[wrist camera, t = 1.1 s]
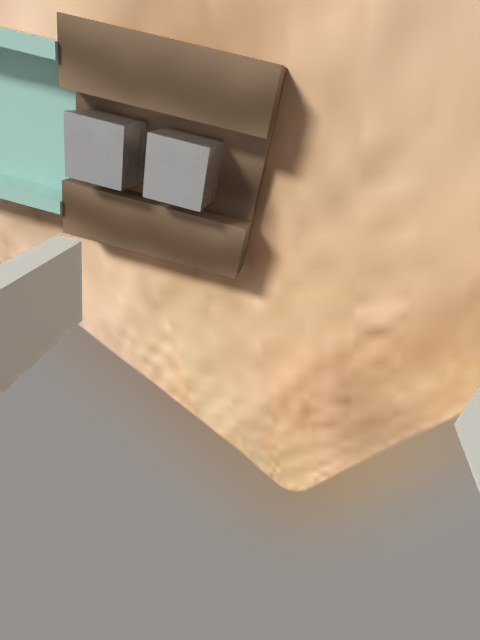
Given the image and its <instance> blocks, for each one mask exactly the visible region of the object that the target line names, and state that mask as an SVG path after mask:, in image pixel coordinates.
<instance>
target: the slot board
mask: <svg viewBox="0 0 480 640" xmlns="http://www.w3.org/2000/svg"><path fill="white" fill-rule="evenodd" d="M57 34H58V69H59V87H60V88H64V89H68V90H72V91H76V110H82V109H99V110H103V111H107V112H111V113H115V114H119V115H123V116H127V117H131V118H135V119H139V120H143V121H147V122H149V132H150V131H154V130H159V129H164V128H169V127H171V128H175V129H179V130H183V131H187V132H191V133H194V134H198V135H202V136H206V137H210V138H214V139H218V140H222V141H225V143H224V149H223V155H222V161H221V167H220V173H219V179H218V184H217V190H216V196H215V199H214V200H213V201H212V202H211V203H210V204H209V205H207V206H206V207H205V208H204V209H203V210H202V211H201V212H198V211H194V210H190V209H186V208H183V207H179V206H175V205H171V204H168V203H164V202H160V201H156V200H152V199H149V198H145V197H143V184H144V181H142V182H140V183H138V184H136V185H133V186H131V187H129V188H127V189H125V190H123V191H118V190H115V189H111V188H107V187H103V186H100V185H96V184H92V183H88V182H84V181H81V180H77V179H73V178H68V179H64V180H62V210H63V232H64V233H67V234H71V235H75V236H78V237H82V238H86V239H89V240H93V241H97V242H100V243H104V244H107V245H111V246H115V247H118V248H122V249H126V250H129V251H133V252H137V253H140V254H144V255H148V256H151V257H155V258H159V259H162V260H166V261H169V262H173V263H177V264H180V265H184V266H188V267H191V268H195V269H199V270H202V271H206V272H210V273H213V274H217V275H220V276H224V277H228V278H231V279H236V277H237V276H238V274H239V272H240V270H241V268H242V266H243V262H244V258H245V253H246V249H247V244H248V240H249V235H250V231H251V226H252V222H253V218H254V213H255V209H256V204H257V200H258V195H259V191H260V187H261V182H262V178H263V173H264V169H265V164H266V160H267V155H268V151H269V147H270V142H271V138H272V133H273V129H274V124H275V120H276V115H277V111H278V107H279V102H280V98H281V93H282V89H283V84H284V80H285V76H286V71H287V68H286V67H284V66H283V65H279V64H275V63H271V62H266V61H262V60H258V59H254V58H250V57H245V56H241V55H237V54H233V53H229V52H224V51H220V50H216V49H212V48H207V47H203V46H199V45H195V44H191V43H186V42H182V41H178V40H174V39H169V38H165V37H161V36H157V35H153V34H148V33H144V32H140V31H136V30H132V29H127V28H123V27H119V26H115V25H110V24H106V23H102V22H98V21H94V20H89V19H85V18H81V17H77V16H72V15H68V14H64V13H60V12H57Z"/></svg>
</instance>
